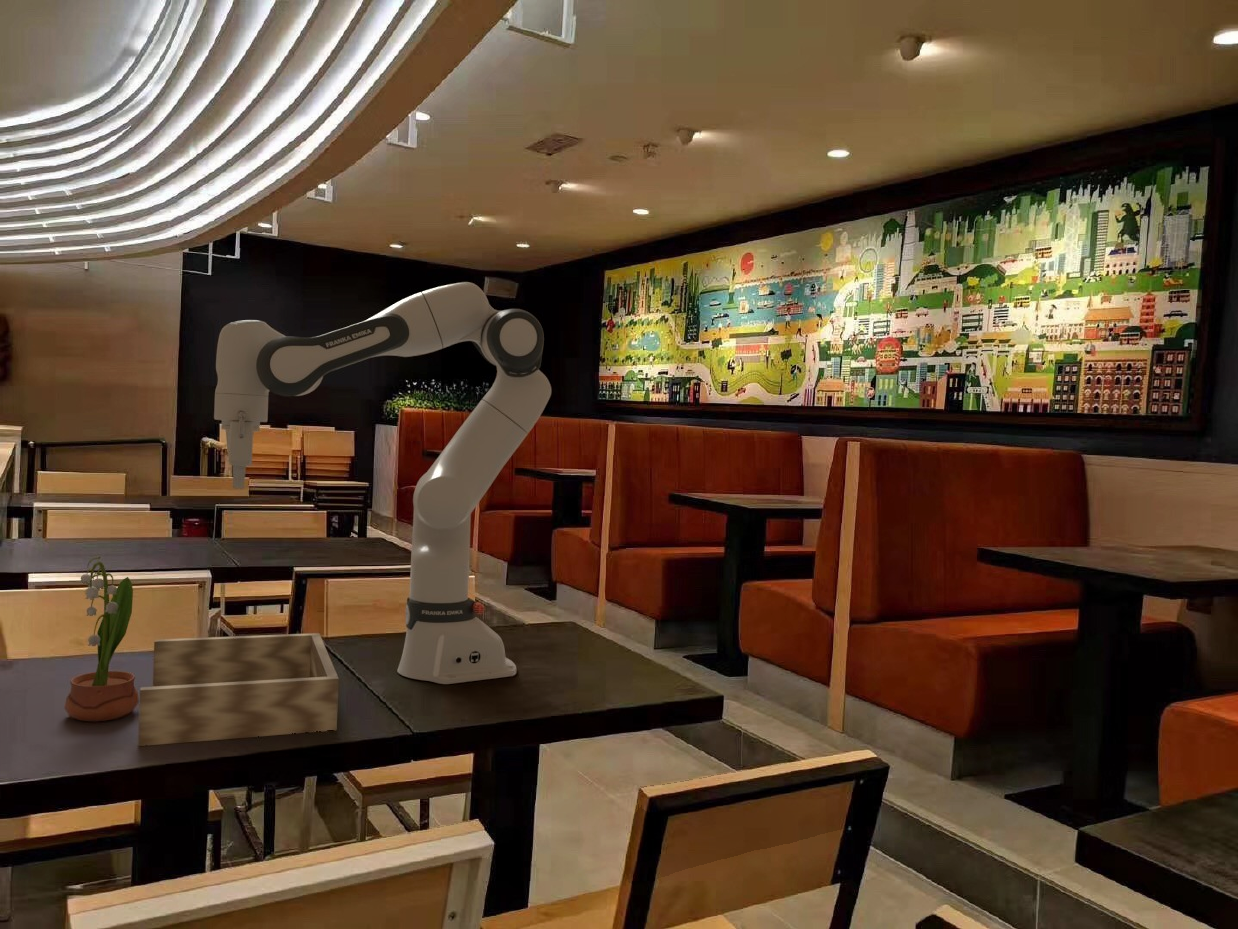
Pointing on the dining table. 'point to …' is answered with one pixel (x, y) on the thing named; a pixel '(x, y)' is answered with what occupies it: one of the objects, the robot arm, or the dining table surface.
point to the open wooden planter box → (238, 688)
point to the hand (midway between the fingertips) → (238, 488)
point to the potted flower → (105, 655)
